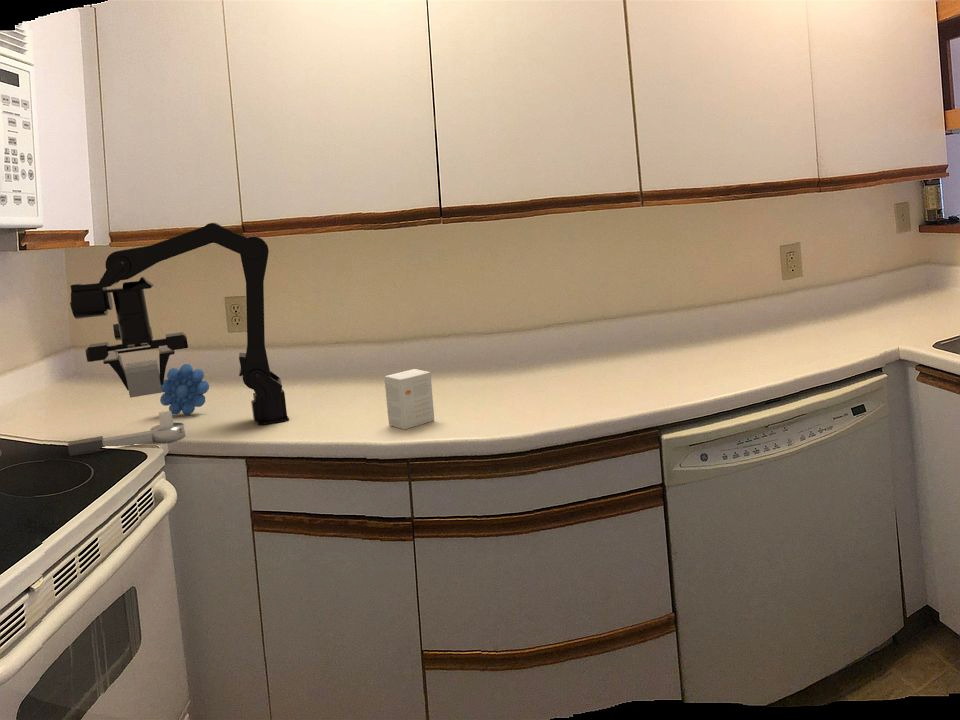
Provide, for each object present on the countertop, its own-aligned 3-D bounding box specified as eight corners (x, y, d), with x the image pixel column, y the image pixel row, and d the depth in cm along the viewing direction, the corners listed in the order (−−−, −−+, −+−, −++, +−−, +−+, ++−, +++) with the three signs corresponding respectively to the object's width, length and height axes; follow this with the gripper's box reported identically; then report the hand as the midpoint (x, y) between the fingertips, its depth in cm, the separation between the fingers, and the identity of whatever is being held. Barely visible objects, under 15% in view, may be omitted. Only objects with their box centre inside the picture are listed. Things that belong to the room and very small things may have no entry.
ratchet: (184, 432, 156) (180, 407, 155) (186, 439, 150) (182, 413, 149) (71, 450, 147) (67, 424, 146) (68, 459, 142) (63, 432, 141)
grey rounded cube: (161, 387, 156) (157, 359, 155) (161, 392, 151) (156, 364, 149) (130, 391, 154) (125, 363, 152) (129, 397, 148) (124, 368, 147)
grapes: (219, 408, 174) (212, 359, 171) (208, 416, 167) (201, 365, 165) (170, 411, 174) (163, 361, 172) (158, 419, 168) (150, 367, 165)
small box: (418, 416, 156) (414, 368, 154) (435, 421, 152) (431, 371, 150) (387, 425, 151) (383, 375, 149) (404, 430, 147) (399, 379, 145)
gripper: (180, 303, 159) (192, 373, 163) (84, 314, 153) (98, 387, 156) (181, 308, 149) (194, 382, 153) (78, 320, 142) (94, 398, 146)
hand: (145, 387), depth 152 cm, fingers closed on grey rounded cube, 6 cm apart
